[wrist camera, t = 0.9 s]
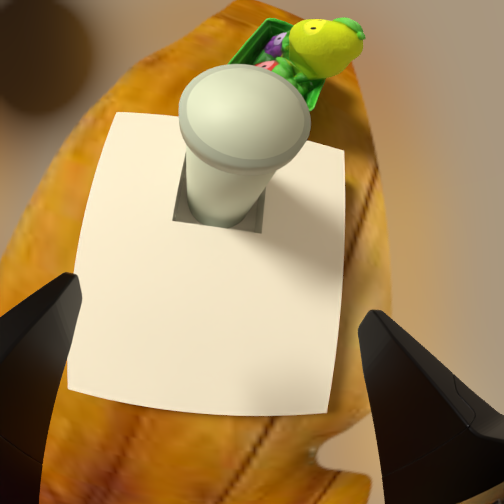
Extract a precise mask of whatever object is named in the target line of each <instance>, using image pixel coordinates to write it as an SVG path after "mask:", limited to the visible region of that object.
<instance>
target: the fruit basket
mask: <svg viewBox="0 0 504 504" xmlns="http://www.w3.org/2000/svg"><path fill="white" fill-rule="evenodd" d="M363 39H365V35H364V33H363V30H362V28H361V26H360V25H359V24H358V23H357V22H356V21H353V20H351V19H349V18H337V19H334V20H333V21H328V20H323V19H308V20H303V21H301V22H299V23H297V24H295V25H291V24H289V23H287V22H285V21H281V20H278V19H275V18H268V19H266V20H265V21H264V22H263V23H262V24H261V26H260V27H259V28H258V29H257V30H256V31H255V32H254V33H253V35H252V36H251V37H250V38H249V39H248V40H247V41H246V42H245V44H244V45H243V46H242V47H241V49H240V50H239V51H238V52H237V53H236V55H235V56H234V57H233V58H232V59H231V61H230V62H229V63H228V64H227V65H229V64H246V65H253V66H257V67H261V68H264V69H267V70H270V71H272V72H274V73H276V74H278V75H280V76H281V77H283V78H284V79H286V80H287V81H288V82H290V83H291V84H292V85H293V86H294V87H295V88H296V89H297V90H298V91H299V93H300V94H301V95H302V97H303V98H304V100H305V102H306V104H307V106H308V109H309V112H310V111H312V110H313V109H314V107H315V105H316V102H317V100H318V97H319V94H320V92H321V89H322V87H323V84H324V82H325V79H326V78H328V77H332V76H335V75H337V74H339V73H341V72H342V71H343V70H344V69H345V68H346V67H347V66H348V64H349V63H350V62H351V61H352V60H354V59H355V58H357V57H358V56H359V55H360V54H361V52H362V49H363Z"/></svg>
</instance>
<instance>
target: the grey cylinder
mask: <svg viewBox="0 0 504 504" xmlns="http://www.w3.org/2000/svg"><path fill="white" fill-rule="evenodd" d="M179 126H180V131H181V134H182V137H183V139H184V141H185V143H186V175H187V203H188V207H189V210H190V212H191V214H192V215H193V216H194V218H195V219H196V220H197V221H199V222H200V223H201V224H203V225H206V226H213V227H220V228H230V227H233V226H235V225H237V224H238V223H240V222H241V221H242V220H243V219H244V218H245V216H246V215H247V214H248V212H249V211H250V209H251V208H252V206H253V205H254V203H255V202H256V200H257V199H258V197H259V196H260V194H261V193H262V191H263V190H264V188H265V187H266V186H267V184H268V183H269V181H270V180H271V178H272V177H273V175H274V174H275V172H276V171H277V170H278V169H280V168H282V167H284V166H285V165H287V164H288V163H289V162H290V161H292V159H293V158H294V157H295V156H296V155H297V154H298V152H299V151H300V150H301V148H302V147H303V146H304V144H305V143H306V141H307V139H308V136H309V133H310V129H311V117H310V112H309V109H308V106H307V104H306V102H305V100H304V98H303V97H302V95H301V94H300V93H299V91H298V90H297V89H296V88H295V87H294V86H293V85H292V84H291V83H290V82H288V81H287V80H286V79H284V78H283V77H281V76H280V75H278V74H276V73H274V72H272V71H270V70H267V69H264V68H261V67H257V66H253V65H246V64H229V65H222V66H218V67H214V68H212V69H209V70H207V71H205V72H203V73H201V74H199V75H198V76H197V77H195V78H194V79H193V80H192V81H191V82H190V83H189V84H188V85H187V87H186V88H185V90H184V91H183V93H182V96H181V98H180V103H179Z"/></svg>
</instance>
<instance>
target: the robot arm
mask: <svg viewBox="0 0 504 504" xmlns="http://www.w3.org/2000/svg"><path fill="white" fill-rule="evenodd" d="M81 304H82V292H81V287H80V282H79V278H78V275H76V274H74V273H68V272H65V273H63V274H61V275H60V276H58V277H57V278H55V279H54V280H52V281H51V282H49V283H48V284H46V285H45V286H43V287H42V288H40V289H39V290H37V291H36V292H34V293H33V294H32V295H30V296H29V297H27V298H26V299H25V300H23V301H22V302H20V303H19V304H18V305H16V306H15V307H13V308H12V309H11V310H9V311H8V312H7V313H5V314H4V315H3V316H1V317H0V504H39V493H40V482H41V473H42V464H43V458H44V451H45V445H46V440H47V435H48V430H49V425H50V420H51V416H52V411H53V407H54V403H55V399H56V395H57V391H58V388H59V384H60V381H61V377H62V374H63V370H64V367H65V364H66V361H67V358H68V354H69V351H70V348H71V344H72V340H73V336H74V332H75V327H76V323H77V319H78V315H79V312H80V308H81ZM358 337H359V344H360V352H361V359H362V367H363V373H364V378H365V383H366V388H367V392H368V397H369V402H370V407H371V412H372V417H373V422H374V428H375V434H376V440H377V446H378V452H379V459H380V465H381V473H382V482H383V490H384V499H385V504H504V415H502V414H500V413H498V412H497V411H496V410H495V409H494V408H492V407H491V406H490V405H489V404H488V403H486V402H485V401H484V400H483V399H481V398H480V397H479V396H478V395H476V394H475V393H474V392H473V391H472V390H471V389H469V388H468V387H467V386H466V385H465V384H464V383H463V382H462V381H461V380H459V379H458V378H457V377H456V376H455V375H454V374H453V373H452V372H451V371H450V370H449V369H448V368H447V367H445V366H444V365H443V364H442V363H441V362H440V361H439V360H437V358H435V357H434V356H433V355H432V354H431V353H430V352H429V351H428V350H427V349H425V348H424V347H423V346H422V345H421V344H420V343H419V342H417V341H416V340H415V339H414V338H413V337H412V336H411V335H410V334H408V333H407V332H406V331H405V330H404V329H403V328H402V327H400V326H399V325H398V324H397V323H396V322H395V321H393V320H392V319H391V318H390V317H389V316H388V315H386V314H385V313H384V312H383V311H381V310H370V311H369V312H368V313H367V315H366V316H365V318H364V319H363V321H362V322H361V324H360V326H359V328H358Z"/></svg>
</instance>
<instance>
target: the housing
mask: <svg viewBox="0 0 504 504" xmlns="http://www.w3.org/2000/svg"><path fill="white" fill-rule="evenodd" d="M344 243H345V163H344V151H343V150H340V149H336V148H333V147H329V146H326V145H322V144H319V143H315V142H311V141H306V143H305V144H304V146H303V147H302V148H301V150H300V151H299V152H298V154H297V155H296V156H295V157H294V158H293V159H292V161H290V162H289V163H288V164H287V165H285V166H284V167H282V168H280V169H278V170H277V171H276V172H275V174H274V175H273V177H272V178H271V180H270V181H269V183H268V184H267V186H266V187H265V188H264V190H263V191H262V193H261V194H260V196H259V197H258V199H257V200H256V202H255V203H254V205H253V206H252V208H251V209H250V211H249V212H248V214H247V215H246V216H245V218H244V219H243V220H242V221H241V222H240V223H238V224H237V225H235V226H233V227H230V228H220V227H213V226H206V225H203V224H201V223H200V222H199V221H197V220H196V219H195V218H194V216H193V215H192V214H191V212H190V210H189V207H188V203H187V175H186V143H185V141H184V139H183V137H182V134H181V131H180V126H179V117H176V116H166V115H155V114H142V113H125V112H117V113H116V115H115V118H114V120H113V123H112V125H111V128H110V131H109V134H108V136H107V139H106V142H105V145H104V148H103V151H102V154H101V157H100V160H99V163H98V166H97V170H96V173H95V176H94V180H93V183H92V187H91V191H90V194H89V198H88V202H87V206H86V211H85V215H84V219H83V224H82V229H81V234H80V239H79V244H78V250H77V255H76V262H75V268H74V274H76V275H78V278H79V282H80V287H81V292H82V304H81V308H80V312H79V315H78V319H77V323H76V327H75V332H74V336H73V340H72V344H71V348H70V351H69V354H68V389H70V390H74V391H77V392H81V393H85V394H89V395H92V396H97V397H101V398H105V399H109V400H114V401H119V402H124V403H129V404H134V405H140V406H145V407H152V408H158V409H165V410H173V411H182V412H191V413H202V414H216V415H238V416H283V415H304V414H318V413H327V408H328V402H329V397H330V390H331V384H332V377H333V371H334V363H335V356H336V348H337V339H338V330H339V320H340V309H341V297H342V283H343V266H344Z"/></svg>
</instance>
